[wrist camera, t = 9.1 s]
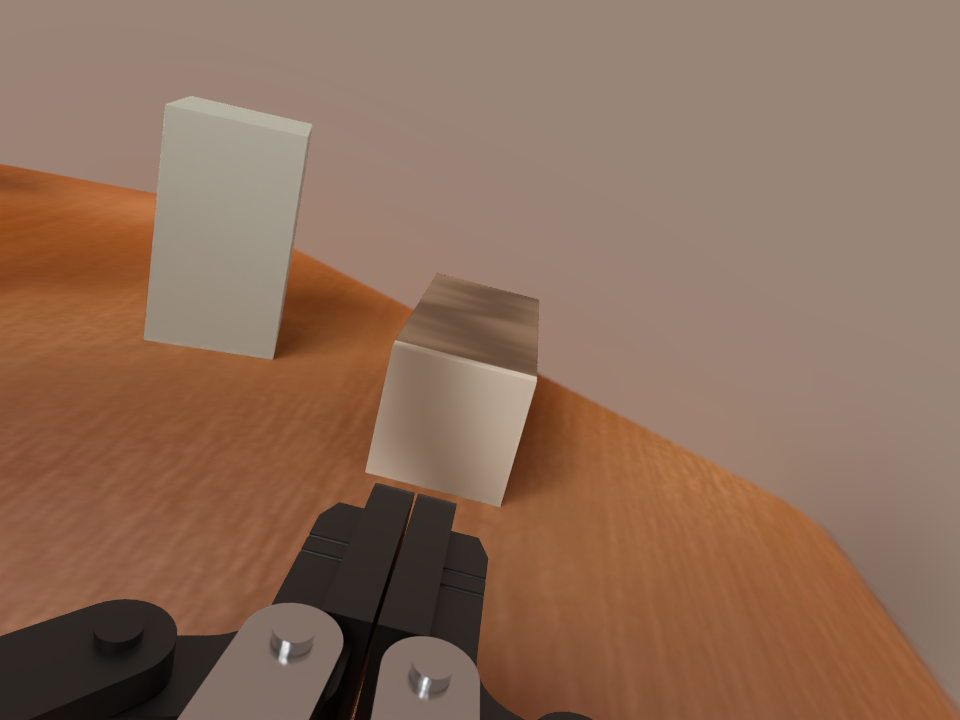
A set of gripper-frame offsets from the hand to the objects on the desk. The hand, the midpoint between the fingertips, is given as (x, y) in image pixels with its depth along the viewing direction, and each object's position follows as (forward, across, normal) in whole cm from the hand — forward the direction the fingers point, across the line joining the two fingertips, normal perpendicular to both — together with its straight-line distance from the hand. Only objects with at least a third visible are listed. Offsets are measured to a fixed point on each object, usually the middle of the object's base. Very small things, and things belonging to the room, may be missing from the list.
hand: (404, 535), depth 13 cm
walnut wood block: (+12, 0, +4) cm, 13 cm away
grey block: (+22, +12, +6) cm, 25 cm away
